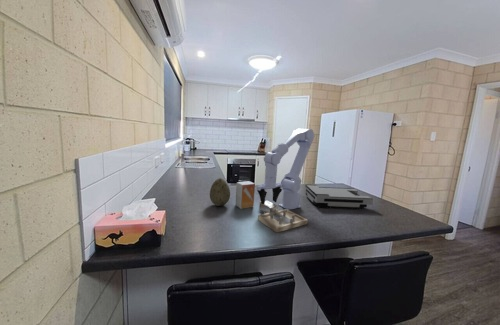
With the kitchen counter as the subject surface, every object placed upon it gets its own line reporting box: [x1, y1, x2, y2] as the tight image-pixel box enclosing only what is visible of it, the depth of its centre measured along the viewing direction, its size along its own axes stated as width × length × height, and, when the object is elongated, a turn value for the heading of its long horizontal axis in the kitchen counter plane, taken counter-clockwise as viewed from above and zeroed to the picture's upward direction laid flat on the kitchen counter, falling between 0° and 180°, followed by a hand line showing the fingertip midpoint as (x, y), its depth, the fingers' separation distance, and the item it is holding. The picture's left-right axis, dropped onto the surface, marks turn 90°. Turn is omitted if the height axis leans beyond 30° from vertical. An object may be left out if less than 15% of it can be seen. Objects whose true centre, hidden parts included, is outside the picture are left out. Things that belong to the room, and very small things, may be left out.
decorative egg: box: [209, 177, 231, 207], centre depth 109 cm, size 11×11×15 cm
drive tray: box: [257, 208, 308, 233], centre depth 95 cm, size 18×14×4 cm
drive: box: [258, 200, 279, 214], centre depth 106 cm, size 5×9×5 cm, turn 32°
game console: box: [304, 184, 374, 211], centre depth 125 cm, size 21×32×8 cm, turn 92°
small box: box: [235, 180, 256, 210], centre depth 111 cm, size 8×6×13 cm
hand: (268, 202), depth 105 cm, fingers open, 7 cm apart
